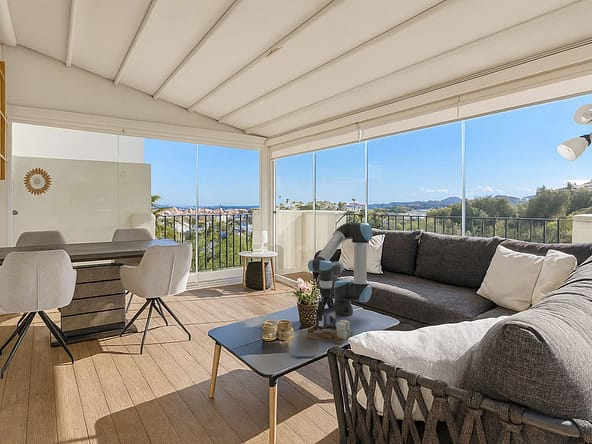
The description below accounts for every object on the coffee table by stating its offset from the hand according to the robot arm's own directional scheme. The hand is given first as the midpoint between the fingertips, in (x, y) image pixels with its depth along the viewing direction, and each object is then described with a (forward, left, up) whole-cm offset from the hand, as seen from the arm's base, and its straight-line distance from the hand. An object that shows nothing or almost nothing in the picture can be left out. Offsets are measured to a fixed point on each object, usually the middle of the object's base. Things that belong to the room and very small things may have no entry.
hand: (325, 322), depth 214 cm
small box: (0, 0, -3) cm, 3 cm away
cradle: (0, +3, -7) cm, 8 cm away
